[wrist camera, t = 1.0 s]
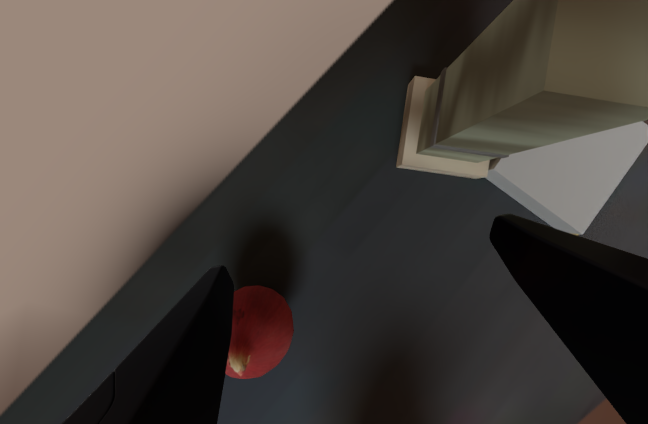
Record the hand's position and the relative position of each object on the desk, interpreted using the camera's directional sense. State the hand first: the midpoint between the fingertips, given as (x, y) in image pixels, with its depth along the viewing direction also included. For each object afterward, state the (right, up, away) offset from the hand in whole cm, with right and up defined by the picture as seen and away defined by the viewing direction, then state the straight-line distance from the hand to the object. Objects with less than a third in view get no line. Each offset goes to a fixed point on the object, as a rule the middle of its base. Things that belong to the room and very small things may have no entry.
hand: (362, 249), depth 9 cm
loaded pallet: (+9, +8, +14) cm, 18 cm away
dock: (+18, +6, +14) cm, 24 cm away
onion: (-6, -7, +14) cm, 17 cm away
